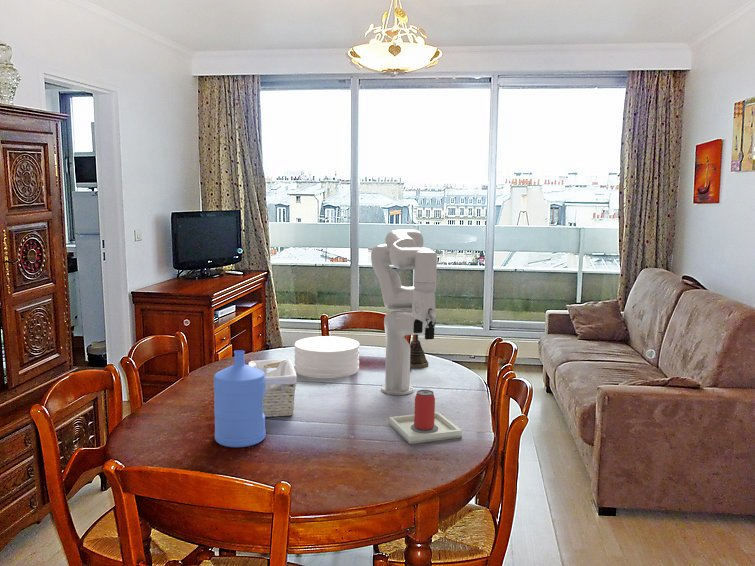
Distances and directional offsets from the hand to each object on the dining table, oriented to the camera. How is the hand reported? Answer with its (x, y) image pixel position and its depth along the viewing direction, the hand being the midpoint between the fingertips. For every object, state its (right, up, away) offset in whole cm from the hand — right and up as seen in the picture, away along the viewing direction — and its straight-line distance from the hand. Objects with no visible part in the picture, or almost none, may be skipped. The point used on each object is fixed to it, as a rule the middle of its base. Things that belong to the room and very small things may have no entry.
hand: (423, 335), depth 223 cm
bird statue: (+2, -19, +66) cm, 69 cm away
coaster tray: (0, -30, -11) cm, 32 cm away
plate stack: (-38, -20, +59) cm, 73 cm away
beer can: (-1, -29, -10) cm, 31 cm away
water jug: (-59, -31, -20) cm, 69 cm away
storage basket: (-54, -27, +10) cm, 61 cm away
